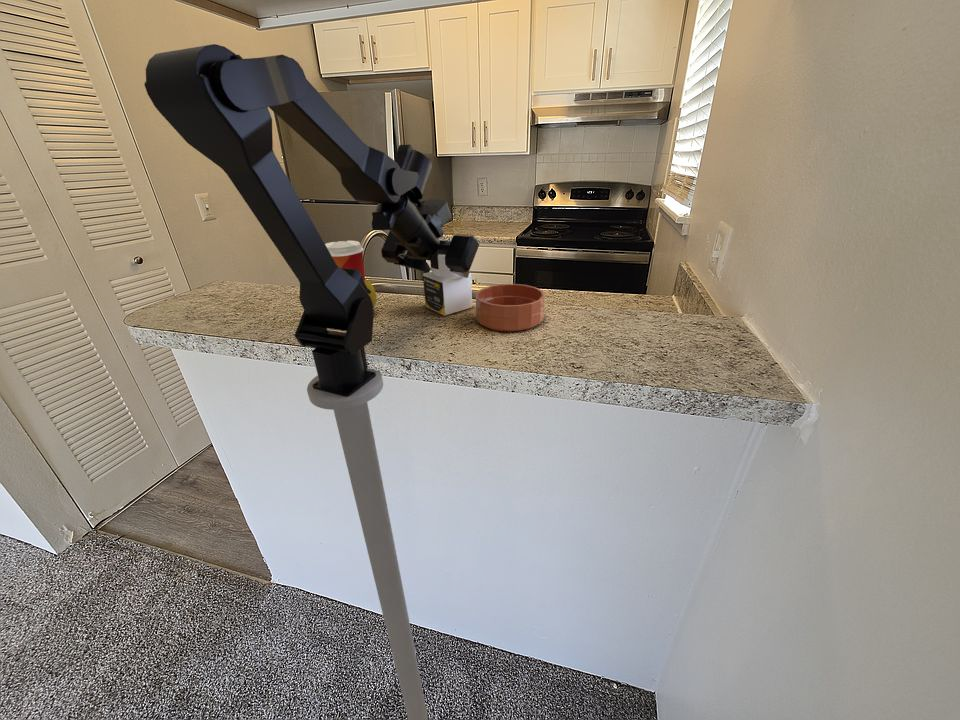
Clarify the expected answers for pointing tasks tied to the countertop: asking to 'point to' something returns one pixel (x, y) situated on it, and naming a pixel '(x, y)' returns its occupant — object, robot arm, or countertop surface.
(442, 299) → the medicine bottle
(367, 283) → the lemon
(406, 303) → the countertop surface
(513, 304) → the bowl
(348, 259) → the paper cup
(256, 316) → the countertop surface
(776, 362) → the countertop surface
